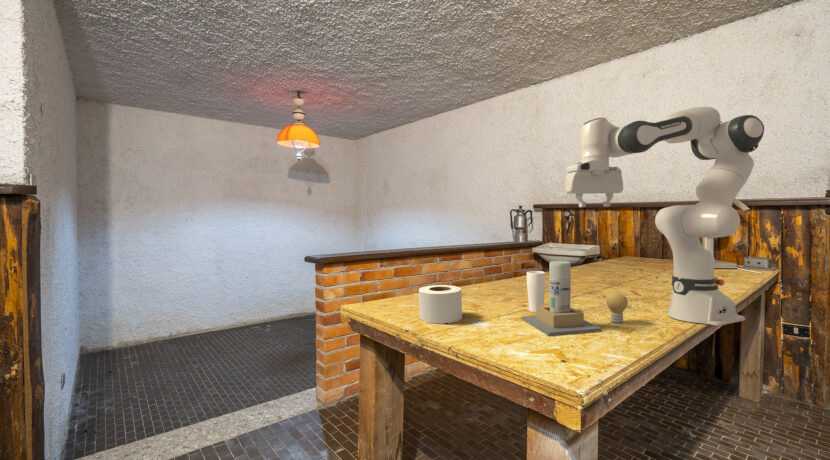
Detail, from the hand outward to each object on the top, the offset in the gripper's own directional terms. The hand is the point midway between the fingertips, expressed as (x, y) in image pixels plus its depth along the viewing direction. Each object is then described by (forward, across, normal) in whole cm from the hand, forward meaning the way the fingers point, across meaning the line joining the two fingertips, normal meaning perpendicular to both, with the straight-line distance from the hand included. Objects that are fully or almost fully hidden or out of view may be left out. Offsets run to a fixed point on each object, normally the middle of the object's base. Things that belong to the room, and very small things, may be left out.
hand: (594, 206), depth 126 cm
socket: (+39, +16, +4) cm, 42 cm away
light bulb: (+39, -4, +6) cm, 40 cm away
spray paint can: (+38, +16, +4) cm, 42 cm away
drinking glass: (+39, +15, -13) cm, 44 cm away
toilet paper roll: (+39, +52, -14) cm, 67 cm away
